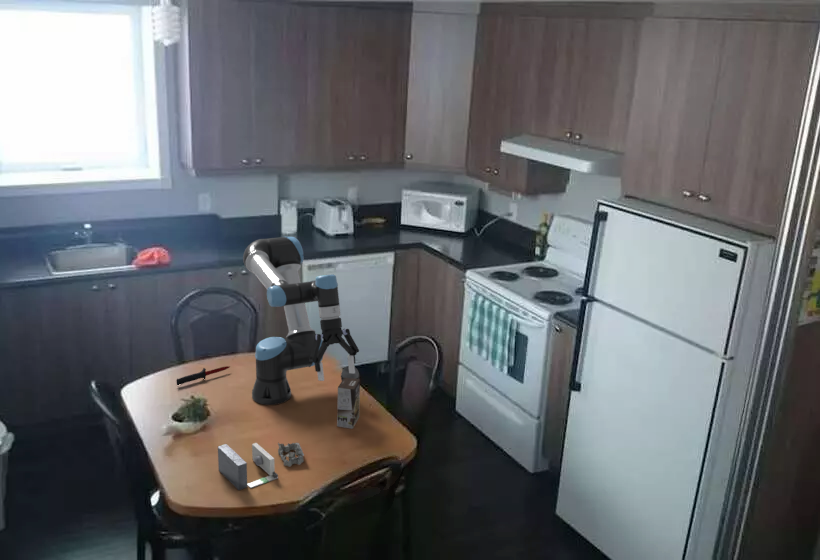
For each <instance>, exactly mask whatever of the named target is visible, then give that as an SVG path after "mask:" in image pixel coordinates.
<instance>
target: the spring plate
mask: <svg viewBox="0 0 820 560" xmlns="http://www.w3.org/2000/svg"><path fill="white" fill-rule="evenodd" d="M251 449H252V450H251V454H252V456H251V457H252V461H253V462H254V463H255V465H256V466H259V468H261V469H262V470H263V471H264V472H266V474H268V476H271V475H274V476H275V477H278V478H279V475H278V473H277V472H275V469H276V468H275V457H273V456H272V455H271V454H270V453H269V452H268V451H266V450H265V449H264V447H262V446H261V445H260V444H258V442H254V443H252V444H251Z"/></svg>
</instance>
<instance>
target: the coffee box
mask: <svg viewBox="0 0 820 560" xmlns="http://www.w3.org/2000/svg"><path fill="white" fill-rule="evenodd" d="M360 390H361V378H359V379H354V378H344V379H343V380H341V382H340V384H339V385H338V387H337V403H336V404H337V407H336V408H337V409H336V410H337V411H336V413H337V416H336V419H337V420H336V427H339V428H345V429H352V430H353V429H354V428H355V426H356V424H357V422H358V420H359V418H360V394H361V393H360V392H361V391H360Z"/></svg>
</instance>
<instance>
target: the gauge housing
mask: <svg viewBox="0 0 820 560" xmlns="http://www.w3.org/2000/svg"><path fill="white" fill-rule="evenodd" d="M217 464H218V465H217V466H218V471H219V472H220V473H221V475H222V476H223V477H224V478H226V479H227V480H228V482H230V484H232V485H233V487H235V489H236V490H238V491H241V490H243V489H247V488H249V489H254V488H256V487H258V486H261V485H263V484H264V485H265V484H266V483H269V482H271V481H275V480H277V479H279V476H278V477H275V476H274V475H271V476H270V475H267V476H264V477H261V478H259V479H256V480H253V481H252V482H248V463H247V461H245V459H243V458H242V457H241V456H240V455H239V454H238V453H237V452H236V451H235V450H234V449H233V448H231V447H230V446H229V445H228V444H227V443H225V444H222V445H219V446H217Z"/></svg>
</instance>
